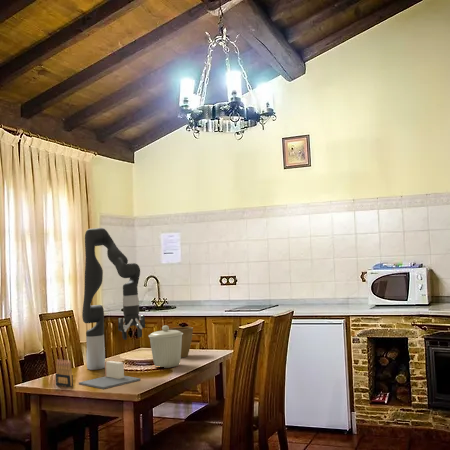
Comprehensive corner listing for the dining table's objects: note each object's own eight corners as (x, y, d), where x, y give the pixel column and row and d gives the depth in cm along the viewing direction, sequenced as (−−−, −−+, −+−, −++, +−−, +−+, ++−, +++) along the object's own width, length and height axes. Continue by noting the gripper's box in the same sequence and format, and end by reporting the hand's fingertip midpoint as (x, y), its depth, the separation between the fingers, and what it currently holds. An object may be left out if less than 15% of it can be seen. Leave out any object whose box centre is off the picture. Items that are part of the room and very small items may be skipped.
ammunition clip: (73, 386, 249) (72, 359, 250) (69, 387, 248) (69, 360, 249) (59, 384, 256) (58, 358, 257) (55, 385, 254) (54, 358, 255)
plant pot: (196, 357, 308) (195, 328, 309) (170, 359, 305) (168, 330, 306) (192, 353, 323) (190, 325, 324) (166, 355, 319) (165, 328, 320)
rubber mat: (78, 384, 253) (78, 382, 253) (115, 375, 268) (115, 374, 268) (103, 389, 240) (103, 387, 240) (140, 380, 254) (140, 378, 254)
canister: (179, 369, 275) (177, 327, 276) (144, 370, 278) (142, 328, 280) (188, 362, 292) (186, 322, 294) (156, 363, 296) (154, 323, 297)
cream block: (118, 363, 256) (104, 361, 264) (118, 378, 256) (105, 376, 264) (123, 362, 259) (110, 360, 266) (124, 377, 258) (110, 375, 266)
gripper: (123, 306, 259) (124, 341, 257) (147, 303, 269) (149, 336, 268) (114, 305, 264) (115, 340, 263) (138, 303, 274) (139, 336, 273)
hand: (132, 338), depth 265 cm, fingers open, 8 cm apart
